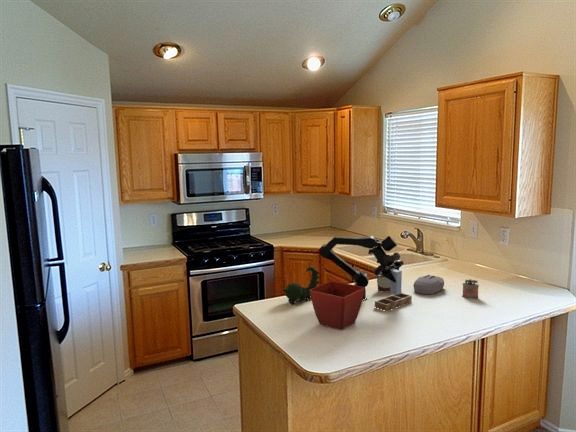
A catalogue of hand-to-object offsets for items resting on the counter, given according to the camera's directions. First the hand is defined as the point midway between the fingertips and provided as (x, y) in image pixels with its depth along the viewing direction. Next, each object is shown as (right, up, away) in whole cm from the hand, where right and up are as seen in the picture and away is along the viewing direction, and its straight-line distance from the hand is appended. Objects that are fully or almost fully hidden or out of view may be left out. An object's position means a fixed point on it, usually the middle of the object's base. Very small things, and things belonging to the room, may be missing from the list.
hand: (398, 281), depth 215 cm
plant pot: (-33, -17, -18) cm, 42 cm away
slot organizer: (-1, -13, +4) cm, 14 cm away
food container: (0, -10, +29) cm, 30 cm away
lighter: (+43, -11, +13) cm, 46 cm away
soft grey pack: (+24, -10, +27) cm, 38 cm away
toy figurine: (-50, -13, +14) cm, 53 cm away
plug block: (-1, -6, +2) cm, 7 cm away
